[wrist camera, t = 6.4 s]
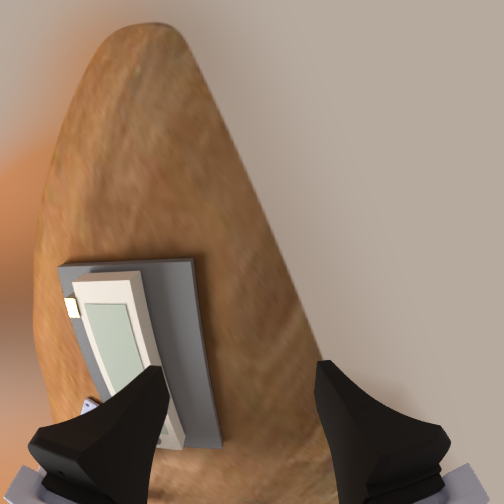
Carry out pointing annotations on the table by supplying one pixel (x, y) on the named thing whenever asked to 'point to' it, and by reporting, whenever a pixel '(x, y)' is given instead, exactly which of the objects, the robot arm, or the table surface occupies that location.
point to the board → (162, 339)
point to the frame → (123, 336)
